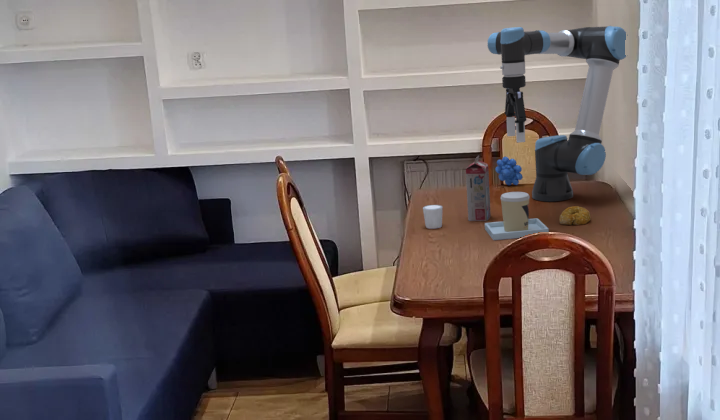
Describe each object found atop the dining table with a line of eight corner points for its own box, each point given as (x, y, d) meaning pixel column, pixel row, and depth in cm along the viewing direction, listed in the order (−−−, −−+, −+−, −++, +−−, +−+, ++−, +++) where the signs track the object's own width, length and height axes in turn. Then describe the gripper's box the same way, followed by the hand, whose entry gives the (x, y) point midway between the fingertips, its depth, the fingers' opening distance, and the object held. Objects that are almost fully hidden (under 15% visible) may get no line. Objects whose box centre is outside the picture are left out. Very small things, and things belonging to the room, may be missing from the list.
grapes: (491, 187, 346) (490, 158, 343) (498, 183, 351) (497, 155, 348) (518, 188, 339) (517, 159, 336) (525, 184, 345) (524, 155, 342)
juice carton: (490, 216, 301) (487, 155, 296) (487, 220, 295) (484, 159, 290) (472, 215, 304) (469, 155, 298) (468, 220, 297) (465, 159, 292)
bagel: (551, 222, 287) (551, 208, 286) (577, 216, 292) (577, 203, 291) (571, 228, 279) (570, 214, 277) (597, 222, 283) (596, 208, 282)
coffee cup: (530, 233, 273) (529, 197, 270) (501, 234, 275) (499, 198, 272) (530, 226, 282) (529, 191, 279) (502, 226, 284) (500, 192, 281)
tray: (537, 224, 286) (537, 218, 285) (548, 235, 272) (548, 228, 272) (484, 229, 285) (484, 223, 285) (493, 240, 272) (493, 234, 271)
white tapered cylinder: (422, 224, 297) (421, 205, 295) (441, 223, 298) (440, 203, 296) (425, 229, 290) (424, 210, 289) (445, 227, 291) (444, 208, 289)
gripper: (494, 73, 291) (497, 134, 296) (511, 79, 267) (513, 145, 272) (516, 71, 291) (518, 132, 296) (534, 77, 267) (536, 143, 272)
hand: (516, 139), depth 284 cm, fingers open, 13 cm apart
